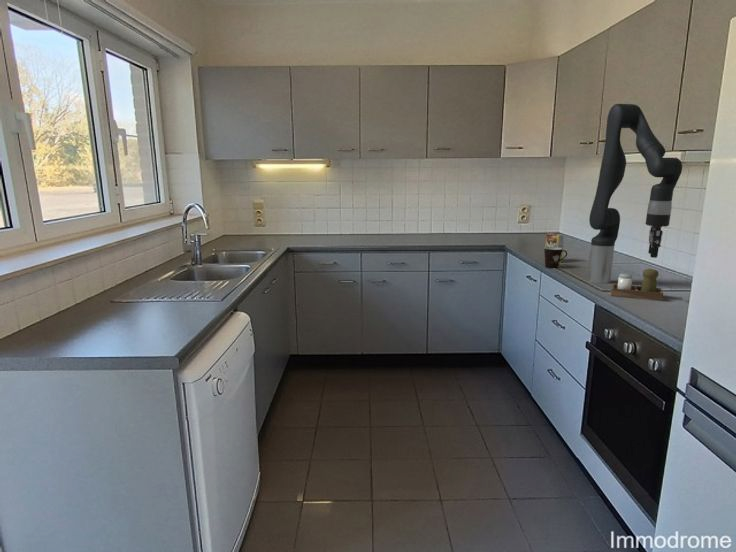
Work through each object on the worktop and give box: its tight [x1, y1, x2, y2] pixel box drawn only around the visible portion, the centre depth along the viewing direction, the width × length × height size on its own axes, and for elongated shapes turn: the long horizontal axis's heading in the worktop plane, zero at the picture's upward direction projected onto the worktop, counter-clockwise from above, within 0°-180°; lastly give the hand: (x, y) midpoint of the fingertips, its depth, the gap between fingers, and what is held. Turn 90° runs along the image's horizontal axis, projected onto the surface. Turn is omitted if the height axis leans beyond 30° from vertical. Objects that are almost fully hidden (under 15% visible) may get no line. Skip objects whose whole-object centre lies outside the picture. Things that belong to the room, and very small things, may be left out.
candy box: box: [544, 232, 565, 263], centre depth 253 cm, size 9×4×15 cm, turn 26°
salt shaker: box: [617, 272, 633, 290], centre depth 181 cm, size 5×5×8 cm
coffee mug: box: [543, 247, 568, 269], centre depth 238 cm, size 12×9×10 cm
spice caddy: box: [610, 283, 665, 302], centre depth 180 cm, size 9×17×4 cm, turn 64°
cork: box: [640, 268, 659, 292], centre depth 177 cm, size 6×6×11 cm
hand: (652, 255), depth 175 cm, fingers open, 8 cm apart
